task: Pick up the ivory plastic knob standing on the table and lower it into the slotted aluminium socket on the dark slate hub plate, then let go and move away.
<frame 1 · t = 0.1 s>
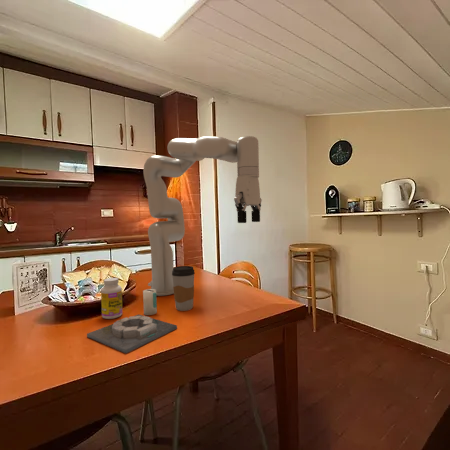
hand: (249, 222, 99), 31 cm above the table, tool pointing down, fingers open, 9 cm apart
supplement bottle: (112, 316, 97), on the table
knob: (150, 312, 99), on the table
coffee cup: (184, 308, 104), on the table
hub plate: (133, 332, 83), on the table
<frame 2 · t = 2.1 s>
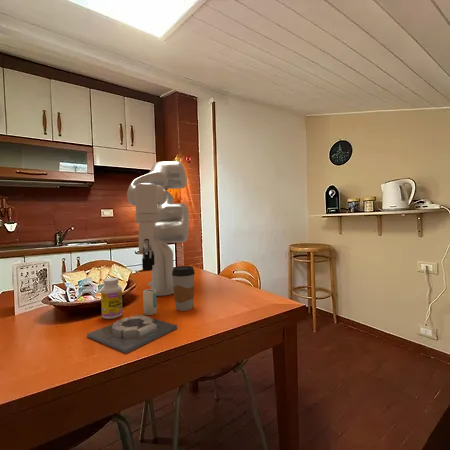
hand: (148, 267, 99), 16 cm above the table, tool pointing down, fingers open, 9 cm apart
nothing on the table moved.
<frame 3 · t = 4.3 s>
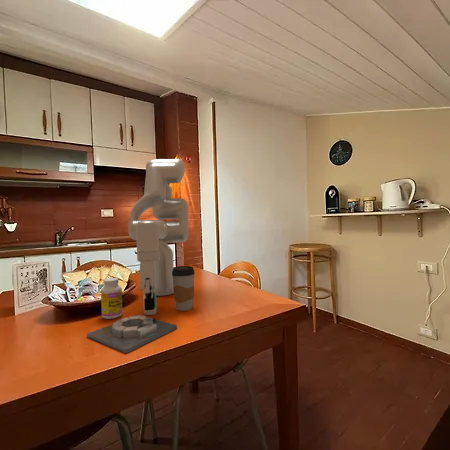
hand: (150, 306, 99), 2 cm above the table, tool pointing down, fingers closed on knob, 4 cm apart
knob: (150, 312, 99), on the table, touching gripper
everything else where it was.
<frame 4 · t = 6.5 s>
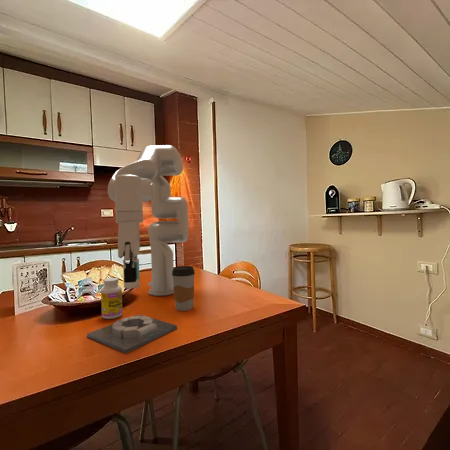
hand: (131, 279, 82), 16 cm above the table, tool pointing down, fingers closed on knob, 4 cm apart
knob: (131, 286, 83), point 14 cm above the table, touching gripper
everything else where it was.
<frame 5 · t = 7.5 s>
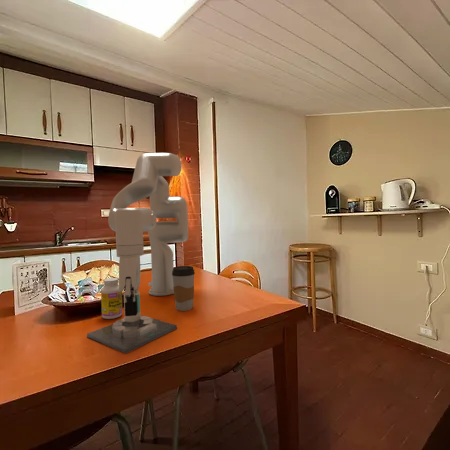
hand: (132, 311, 83), 6 cm above the table, tool pointing down, fingers closed on knob, 4 cm apart
knob: (132, 318, 83), point 4 cm above the table, touching gripper
everything else where it was.
when the fingers open (4 cm above the table, at t = 8.6 s): knob stays where it is, resting on hub plate.
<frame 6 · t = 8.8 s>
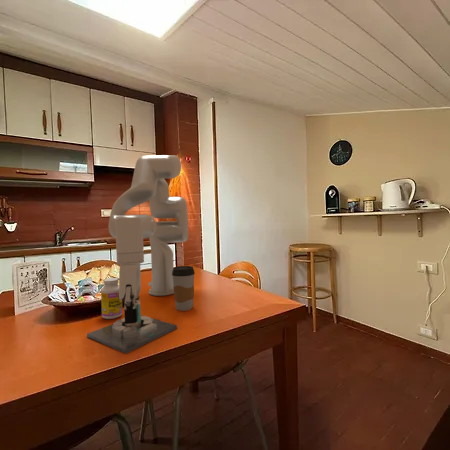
hand: (132, 318, 83), 4 cm above the table, tool pointing down, fingers open, 6 cm apart
knob: (133, 329, 83), point 1 cm above the table, touching hub plate
everything else where it was.
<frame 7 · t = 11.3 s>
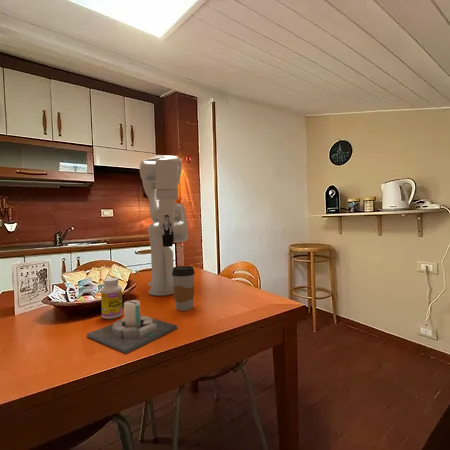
hand: (168, 244, 99), 24 cm above the table, tool pointing down, fingers open, 9 cm apart
nothing on the table moved.
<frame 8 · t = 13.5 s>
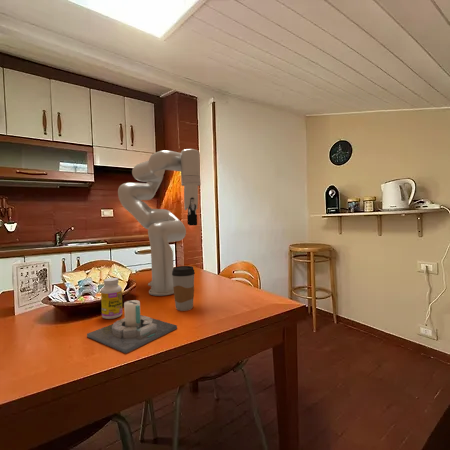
hand: (192, 224, 112), 30 cm above the table, tool pointing down, fingers open, 9 cm apart
nothing on the table moved.
at the end: knob 0.0 cm off-centre on the hub plate, point 1.0 cm above the hub plate's base; knob tilted 1°; the gripper is holding nothing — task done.
